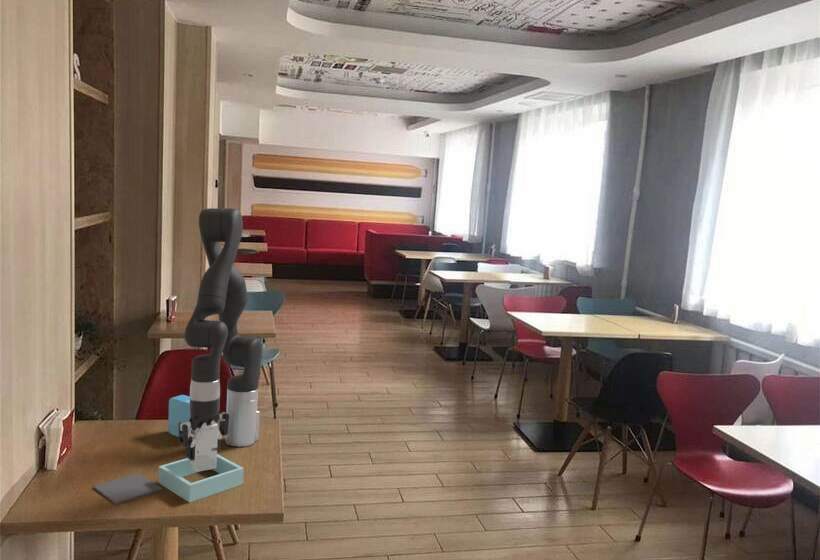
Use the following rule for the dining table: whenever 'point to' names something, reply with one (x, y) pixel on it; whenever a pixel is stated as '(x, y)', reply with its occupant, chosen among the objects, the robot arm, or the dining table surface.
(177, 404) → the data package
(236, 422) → the robot arm
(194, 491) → the bin
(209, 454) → the skincare box
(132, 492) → the mat
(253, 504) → the dining table surface
